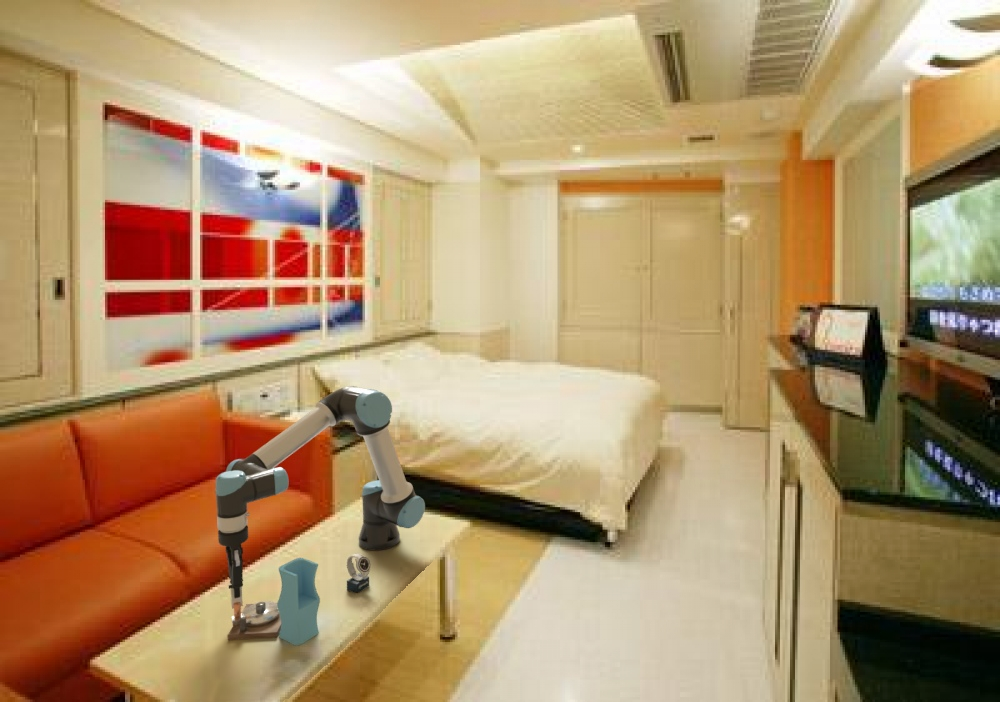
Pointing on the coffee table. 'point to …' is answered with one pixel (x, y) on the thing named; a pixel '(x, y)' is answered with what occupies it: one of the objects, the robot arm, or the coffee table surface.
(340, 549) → the coffee table surface
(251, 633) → the base board
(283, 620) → the blue tall hollow container
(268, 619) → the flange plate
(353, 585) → the watch
